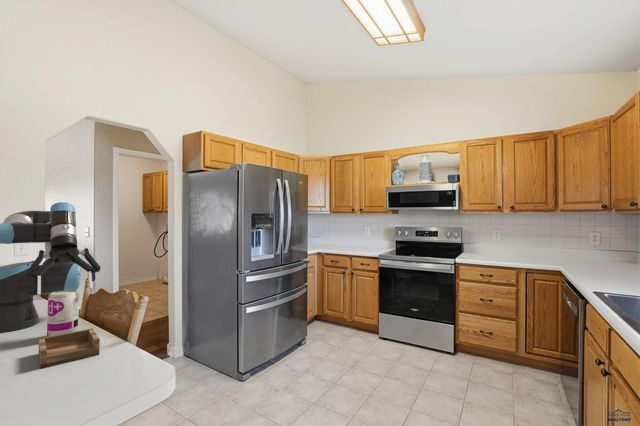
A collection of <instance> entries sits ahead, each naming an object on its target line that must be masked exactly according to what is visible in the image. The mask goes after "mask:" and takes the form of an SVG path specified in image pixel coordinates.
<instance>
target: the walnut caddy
mask: <svg viewBox="0 0 640 426" xmlns="http://www.w3.org/2000/svg"><path fill="white" fill-rule="evenodd" d="M97 334H98V333H96V331H95V330H94V328H87V329H82V330H78V331H76V332H71V333H65V334H60V335H55V336H49V337H47V336H45V337H40V338H38V359H39V368H40V369H44V368H49V367H53V366H58V365H61V364H66V363H70V362H73V361H78V360H83V359H86V358H91V357H95V356H100V347H101V346H100V345H101V344H100V343H101V341H100V337H99V336H98V335H97Z"/></svg>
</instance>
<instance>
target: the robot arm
mask: <svg viewBox="0 0 640 426" xmlns="http://www.w3.org/2000/svg"><path fill="white" fill-rule="evenodd" d="M76 214H77V212H76V207H75V206H74V205H73V204H72V203H70V202H67V201H65V202H62V201H60V202H56V203H53V204H52V205H51V206H50V210H26V211H24V210H23V211H19V212H16V213H12V214H10V215H8V216H7V217H5V218H4V220H3V222H2V223H1V222H0V245H3V244H6V245H11V244H36V243H37V244H43V243H44V248H45V249H44V250H43V249H40V250H39V251H38V255H37V257H36V259H34V261H25V262H16V263H11V264H5V265H1V266H0V333H7V332H12V331H18V330H22V329H26V328H29V327H33V326H34V325H35V326H36V325H37V324H39V321H40V317H39V313H38V311H37V309H36V307H35V304H34V296H36V297H37V299H38V298H41V295H51V293H53V292H57V291H64V290H76V291H77V290H78V289H79V288H80V286H81V285H80V284H81V275H82V269H83V270H84V271H86V272H87V283H88V292H92V291H93V288H94V287H93V282H95V281H96V274H97V273H99V272H100V271H101V265H100V264H99V263H98V262H97V261H96V259H95V258H94V257H93V256H92V255H91V254H90V251H89V248H87V247H85V248H84V249H80V250H79V249H78V237H77V235H78V234H77V224H76V223H77V221H76V219H77V218H76ZM79 254H80V255H81V256H82V257H84V258H85V260H86V261H87V262H86V261H84V259H82V258H81V257H80V256H79ZM44 259H45V261H43V260H44ZM42 261H43V262H42ZM41 263H42V264H41Z"/></svg>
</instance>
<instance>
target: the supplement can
mask: <svg viewBox="0 0 640 426" xmlns="http://www.w3.org/2000/svg"><path fill="white" fill-rule="evenodd" d="M79 299H80V298H79V293H78V292H77V290H64V291H57V292H53V293H51V294H49V296H48V298H47V316H46V317H47V319H46V320H47V321H46V324H47V325H46V326H47V327H46V337H49V336H55V335H60V334H65V333H71V332H76V331H79V303H80V300H79Z"/></svg>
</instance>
